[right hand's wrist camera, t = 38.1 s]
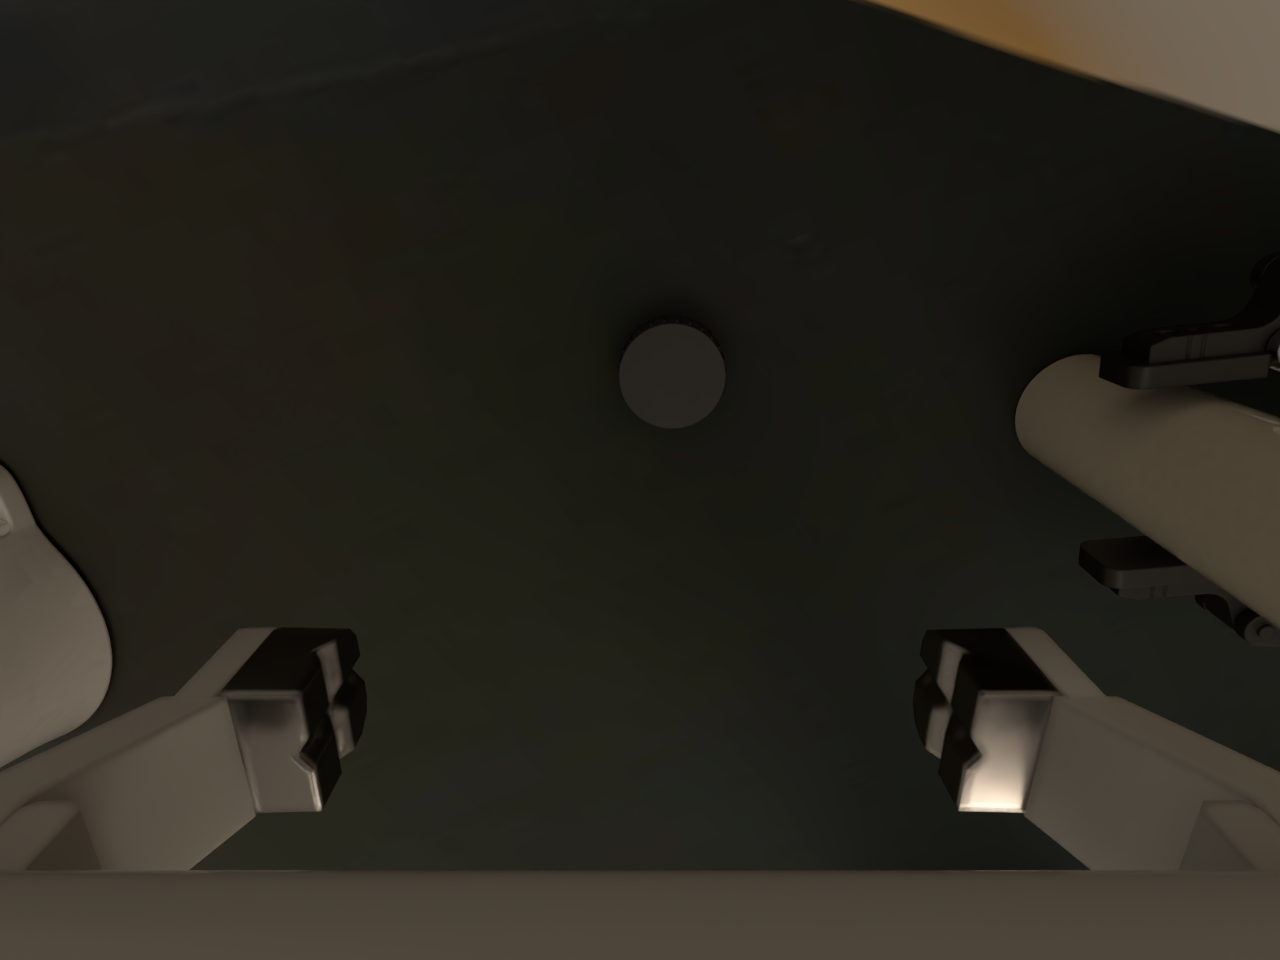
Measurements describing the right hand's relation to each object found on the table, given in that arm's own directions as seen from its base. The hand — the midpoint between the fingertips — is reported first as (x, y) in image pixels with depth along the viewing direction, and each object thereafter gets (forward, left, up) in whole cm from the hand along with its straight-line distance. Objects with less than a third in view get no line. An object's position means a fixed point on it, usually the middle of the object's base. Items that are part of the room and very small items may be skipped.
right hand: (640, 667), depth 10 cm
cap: (0, 0, -19) cm, 19 cm away
